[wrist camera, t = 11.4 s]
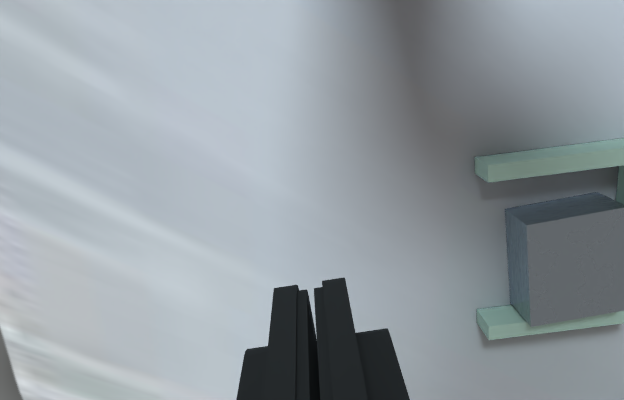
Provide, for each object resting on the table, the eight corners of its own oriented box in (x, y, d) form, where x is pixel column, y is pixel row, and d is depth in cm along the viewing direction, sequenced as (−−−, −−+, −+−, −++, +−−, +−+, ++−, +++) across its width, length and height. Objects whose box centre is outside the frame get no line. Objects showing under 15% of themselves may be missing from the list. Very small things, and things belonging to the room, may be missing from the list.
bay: (474, 157, 41) (487, 165, 38) (638, 136, 40) (664, 142, 38) (476, 322, 46) (488, 340, 43) (621, 304, 46) (643, 320, 43)
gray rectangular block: (503, 207, 43) (526, 225, 38) (595, 190, 42) (628, 206, 38) (508, 301, 46) (530, 327, 41) (594, 286, 45) (625, 310, 41)
